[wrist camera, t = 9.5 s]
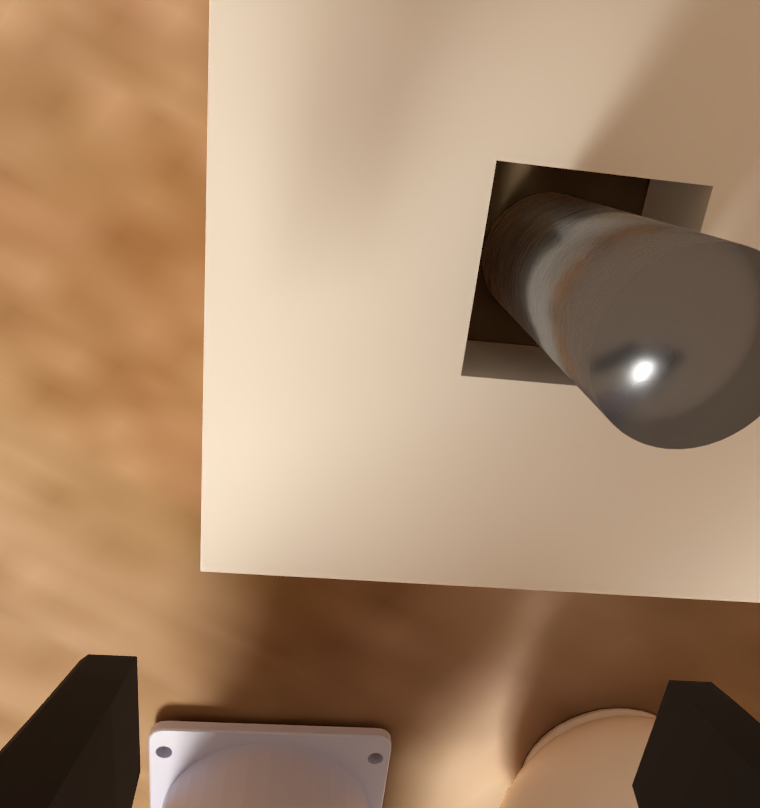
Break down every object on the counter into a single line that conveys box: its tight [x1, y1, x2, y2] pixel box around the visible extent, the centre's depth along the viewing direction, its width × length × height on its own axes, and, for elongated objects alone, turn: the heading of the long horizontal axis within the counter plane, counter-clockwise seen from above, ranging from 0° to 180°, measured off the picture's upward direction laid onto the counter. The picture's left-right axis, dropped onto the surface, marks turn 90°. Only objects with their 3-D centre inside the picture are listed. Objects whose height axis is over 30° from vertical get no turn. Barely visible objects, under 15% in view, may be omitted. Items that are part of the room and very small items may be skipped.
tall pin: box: [482, 192, 760, 449], centre depth 14 cm, size 3×3×8 cm
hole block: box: [200, 0, 760, 603], centre depth 16 cm, size 16×16×3 cm
